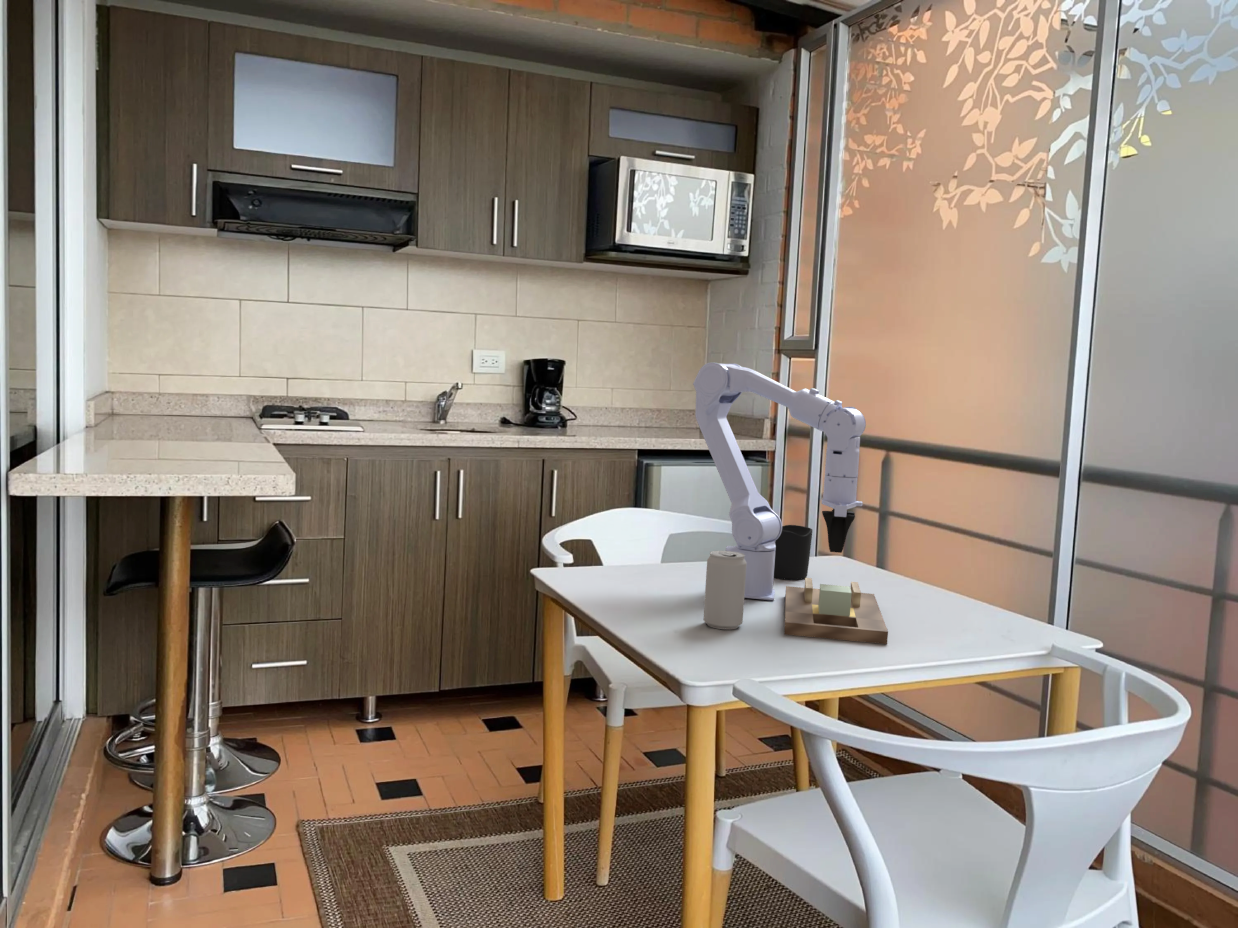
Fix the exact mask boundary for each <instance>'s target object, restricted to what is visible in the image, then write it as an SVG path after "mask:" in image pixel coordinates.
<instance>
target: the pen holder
mask: <svg viewBox="0 0 1238 928" xmlns="http://www.w3.org/2000/svg"><path fill="white" fill-rule="evenodd" d="M812 536H813V529H812V528H811V527H808V526H802V525H796V524H784V525H782V532H781V535H780V536H779V538H778V539H777V540H775V545H776V549H775V564H774V578H773V579H778V580H785V581H791V580H792V581H799V580H805V578H808V571H809V564H810V556H811V549H812V548H811V547H812V538H813V537H812Z"/></svg>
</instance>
